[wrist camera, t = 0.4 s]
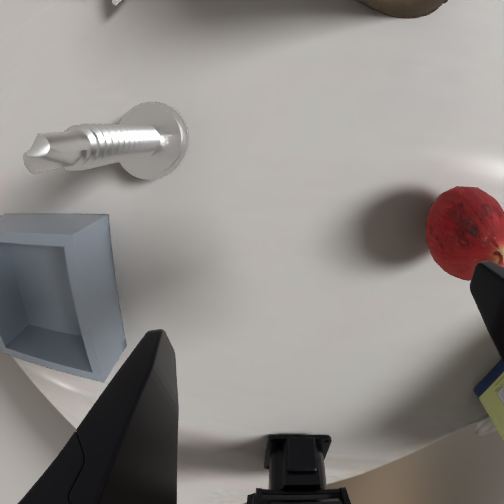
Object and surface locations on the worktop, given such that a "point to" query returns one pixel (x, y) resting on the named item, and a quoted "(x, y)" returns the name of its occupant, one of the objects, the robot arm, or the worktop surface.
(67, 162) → the screw
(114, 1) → the white fish figurine
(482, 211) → the pomegranate
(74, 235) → the tote
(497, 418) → the protein box
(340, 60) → the worktop surface
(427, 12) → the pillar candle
